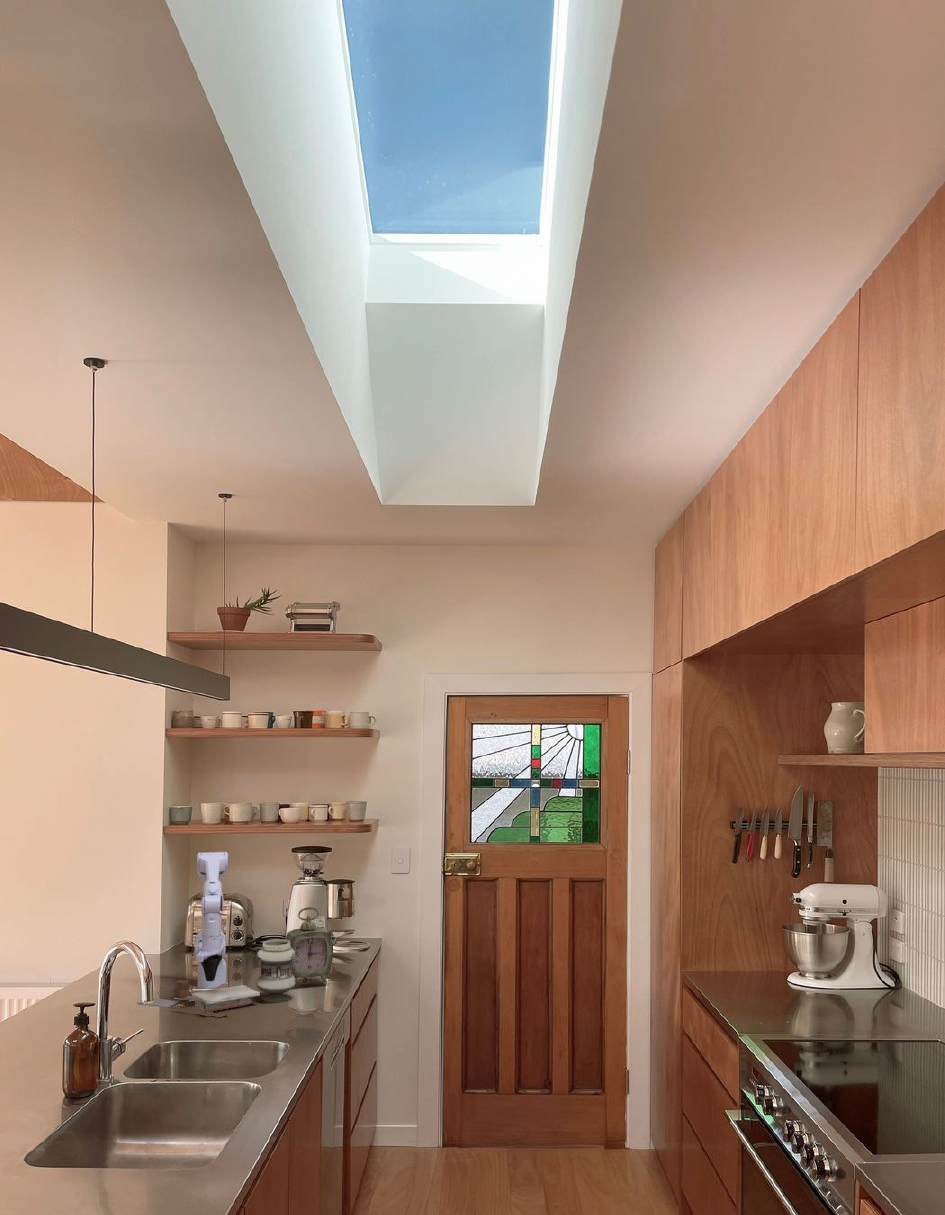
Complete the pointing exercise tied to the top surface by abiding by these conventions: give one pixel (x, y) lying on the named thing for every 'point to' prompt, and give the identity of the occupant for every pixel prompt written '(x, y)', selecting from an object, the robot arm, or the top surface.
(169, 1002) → the slate pad
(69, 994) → the top surface
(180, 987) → the brown and white block
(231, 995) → the packaged product
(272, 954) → the apothecary jar
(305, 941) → the tabletop clock
